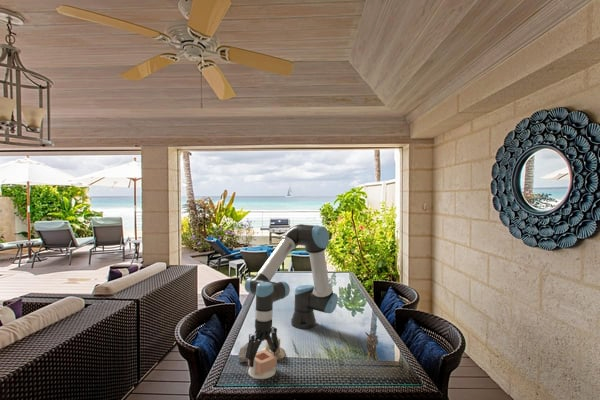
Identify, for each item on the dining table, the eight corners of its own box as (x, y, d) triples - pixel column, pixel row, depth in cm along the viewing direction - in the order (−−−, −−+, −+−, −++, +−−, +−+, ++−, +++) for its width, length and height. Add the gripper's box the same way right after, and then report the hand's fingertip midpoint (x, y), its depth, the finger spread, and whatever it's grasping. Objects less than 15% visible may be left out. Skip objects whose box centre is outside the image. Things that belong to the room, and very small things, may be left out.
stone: (237, 364, 145) (238, 351, 146) (237, 354, 155) (237, 342, 155) (255, 362, 147) (255, 350, 147) (253, 353, 157) (254, 341, 157)
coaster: (264, 361, 149) (264, 360, 149) (281, 372, 140) (281, 371, 140) (242, 370, 140) (242, 369, 140) (258, 382, 132) (258, 381, 132)
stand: (274, 346, 164) (275, 321, 164) (289, 355, 155) (290, 328, 155) (255, 353, 156) (256, 327, 156) (270, 363, 147) (271, 335, 147)
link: (264, 358, 146) (264, 349, 146) (276, 366, 140) (276, 357, 140) (247, 364, 140) (248, 355, 140) (259, 373, 134) (260, 363, 134)
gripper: (277, 310, 150) (276, 358, 150) (237, 321, 135) (236, 374, 135) (287, 315, 145) (286, 364, 145) (247, 327, 130) (245, 382, 130)
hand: (262, 369), depth 140 cm, fingers closed on link, 9 cm apart
